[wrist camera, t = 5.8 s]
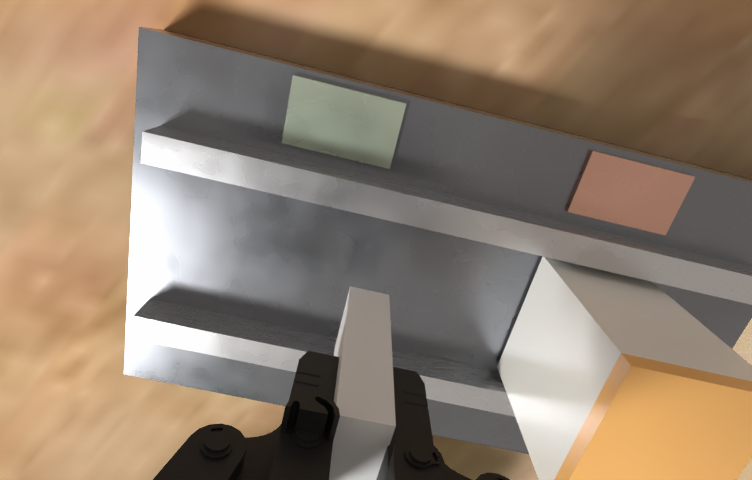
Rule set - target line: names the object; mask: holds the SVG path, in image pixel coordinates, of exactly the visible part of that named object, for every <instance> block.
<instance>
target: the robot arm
mask: <svg viewBox="0 0 752 480" xmlns="http://www.w3.org/2000/svg"><path fill="white" fill-rule="evenodd" d="M153 480H471V479H469V478H467V477H465V476H463V475H461V474H459V473H457V472H455V471H453V470H452V469H450V468H449V467H448V466H447V465H445V463H444V460H443V458H442V455H441V453H440V452H439V451H438V450H437V448H436V447H435V446H434V445H433V438H432V431H431V424H430V417H429V410H428V403H427V398H426V389H425V383H424V382H423V380H422V379H421V377H420V376H419V374H418V373H417V372H416V371H411V370H406V369H401V368H396V367H393V360H392V340H391V320H390V300H389V295H388V294H384V293H379V292H374V291H370V290H365V289H361V288H356V287H351V286H350V288H349V292H348V296H347V300H346V304H345V308H344V312H343V316H342V320H341V324H340V328H339V332H338V336H337V340H336V344H335V349H334V356H332V355H327V354H322V353H317V352H312V351H307V352H306V353H305V354H304V355H303V356H302V357H301V358H300V359H299V362H298V366H297V370H296V374H295V378H294V382H293V386H292V390H291V394H290V397H289V401H288V403H287V404H286V407H285V411H284V416H283V421H282V424H281V425H280V426H279V427H278V428H277V429H276V430H274V431H273V432H271V433H269V434H267V435H264V436H259V437H251V438H245V437H244V436H243V435H242V433H241V432H240V431H239V430H237V429H236V428H234V427H232V426H229V425H225V424H211V425H208V426H205V427H202V428H200V429H198V430H197V431H196V432H194V433H193V434H192V435H191V436H190V437H189V438H188V439H187V441H186V442H185V443H184V444H183V445H182V446H181V448H180V449H179V450H178V451H177V452H176V453H175V455H174V456H173V457H172V458H171V459H170V460H169V462H168V463H167V464H166V465H165V466H164V467H163V469H162V470H161V471H160V472H159V473H158V474H157V476H156V477H155V478H154V479H153ZM476 480H509V479H508V478H506V477H504V476H501V475H499V474H495V473H485V474H481V475H480V476H479V477H478V478H477V479H476Z"/></svg>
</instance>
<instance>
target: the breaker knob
mask: <svg viewBox="0 0 752 480" xmlns="http://www.w3.org/2000/svg"><path fill="white" fill-rule="evenodd" d="M497 368H498V371H499V374H500V376H501V379H502V382H503V385H504V387H505V390H506V393H507V395H508V398H509V401H510V404H511V406H512V409H513V412H514V414H515V417H516V420H517V423H518V425H519V428H520V431H521V433H522V436H523V439H524V442H525V444H526V447H527V450H528V452H529V455H530V458H531V461H532V463H533V466H534V469H535V471H536V474H537V477H538V480H736V479H737V478H738V476H739V475H740V474H741V472H742V471H743V470H744V468H745V467H746V465H747V464H748V463H749V461H750V460H751V459H752V365H750V364H749V363H748V362H747V361H746V360H744V359H743V358H742V357H741V356H740V355H738V354H737V353H736V352H735V351H734V350H733V349H731V348H730V347H729V346H728V345H727V344H725V343H724V342H723V341H722V340H721V339H719V338H718V337H717V336H716V335H715V334H714V333H712V332H711V331H710V330H709V329H708V328H706V327H705V326H704V325H703V324H702V323H700V322H699V321H698V320H697V319H696V318H695V317H693V316H692V315H691V314H690V313H689V312H687V311H686V310H685V309H684V308H683V307H681V306H680V305H679V304H678V303H677V302H676V301H674V300H673V299H672V298H671V297H670V296H668V295H667V294H666V293H665V292H664V291H662V290H661V289H660V288H659V287H658V286H657V285H655V284H654V283H653V282H651V281H647V280H642V279H638V278H634V277H629V276H625V275H621V274H617V273H612V272H608V271H604V270H599V269H595V268H591V267H586V266H582V265H578V264H573V263H569V262H565V261H560V260H556V259H552V258H548V257H542V259H541V262H540V264H539V266H538V269H537V271H536V274H535V276H534V278H533V281H532V283H531V286H530V288H529V291H528V293H527V295H526V298H525V300H524V303H523V305H522V308H521V310H520V312H519V315H518V317H517V320H516V322H515V325H514V327H513V329H512V332H511V334H510V337H509V339H508V342H507V344H506V346H505V349H504V351H503V354H502V356H501V359H500V361H499V363H498V366H497Z"/></svg>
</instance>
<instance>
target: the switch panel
mask: <svg viewBox="0 0 752 480" xmlns="http://www.w3.org/2000/svg"><path fill="white" fill-rule="evenodd" d="M542 257H548V258H552V259H556V260H560V261H565V262H569V263H573V264H578V265H582V266H586V267H591V268H595V269H599V270H604V271H608V272H612V273H617V274H621V275H625V276H629V277H634V278H638V279H642V280H647V281H651V282H653V283H654V284H655V285H657V286H658V287H659V288H660V289H661V290H662V291H664V292H665V293H666V294H667V295H668V296H670V297H671V298H672V299H673V300H674V301H676V302H677V303H678V304H679V305H680V306H681V307H683V308H684V309H685V310H686V311H687V312H689V313H690V314H691V315H692V316H693V317H695V318H696V319H697V320H698V321H699V322H700V323H702V324H703V325H704V326H705V327H706V328H708V329H709V330H710V331H711V332H712V333H714V334H715V335H716V336H717V337H718V338H719V339H721V340H722V341H723V342H724V343H725V344H727V345H728V346H729V347H730V348H731V349H732V348H733V346H734V345H735V343H736V342H737V340H738V338H739V337H740V335H741V334H742V332H743V331H744V329H745V327H746V326H747V324H748V323H749V321H750V319H751V318H752V180H751V179H747V178H743V177H739V176H735V175H731V174H728V173H724V172H720V171H716V170H712V169H708V168H704V167H700V166H696V165H692V164H688V163H684V162H680V161H676V160H673V159H669V158H665V157H661V156H657V155H653V154H649V153H645V152H641V151H637V150H633V149H629V148H625V147H622V146H618V145H614V144H610V143H606V142H602V141H598V140H594V139H590V138H586V137H582V136H578V135H574V134H570V133H567V132H563V131H559V130H555V129H551V128H547V127H543V126H539V125H535V124H531V123H527V122H523V121H519V120H516V119H512V118H508V117H504V116H500V115H496V114H492V113H488V112H484V111H480V110H476V109H472V108H468V107H464V106H461V105H457V104H453V103H449V102H445V101H441V100H437V99H433V98H429V97H425V96H421V95H417V94H413V93H410V92H406V91H402V90H398V89H394V88H390V87H386V86H382V85H378V84H374V83H370V82H366V81H362V80H358V79H355V78H351V77H347V76H343V75H339V74H335V73H331V72H327V71H323V70H319V69H315V68H311V67H307V66H304V65H300V64H296V63H292V62H288V61H284V60H280V59H276V58H272V57H268V56H264V55H260V54H256V53H253V52H249V51H245V50H241V49H237V48H233V47H229V46H225V45H221V44H217V43H213V42H209V41H205V40H201V39H198V38H194V37H190V36H186V35H182V34H178V33H174V32H170V31H166V30H161V29H152V28H143V27H139V38H138V61H137V84H136V107H135V130H134V152H133V175H132V198H131V221H130V244H129V267H128V289H127V312H126V335H125V358H124V374H125V375H130V376H135V377H140V378H146V379H151V380H156V381H161V382H166V383H171V384H176V385H181V386H186V387H191V388H196V389H201V390H207V391H212V392H217V393H222V394H227V395H232V396H237V397H242V398H247V399H252V400H257V401H262V402H268V403H273V404H278V405H283V406H286V404H287V403H288V401H289V397H290V394H291V390H292V386H293V382H294V378H295V374H296V370H297V366H298V362H299V359H300V358H301V357H302V356H303V355H304V354H305V353H306V352H307V351H312V352H317V353H322V354H327V355H332V356H334V349H335V344H336V340H337V336H338V332H339V328H340V324H341V320H342V316H343V312H344V308H345V304H346V300H347V296H348V292H349V288H350V286H351V287H356V288H361V289H365V290H370V291H374V292H379V293H384V294H388V295H389V300H390V320H391V340H392V360H393V367H396V368H401V369H406V370H411V371H416V372H417V373H418V374H419V376H420V377H421V379H422V380H423V382H424V383H425V389H426V398H427V403H428V410H429V417H430V424H431V431H432V435H435V436H440V437H445V438H450V439H456V440H461V441H466V442H471V443H476V444H481V445H486V446H491V447H496V448H501V449H506V450H511V451H517V452H522V453H527V454H529V452H528V450H527V447H526V444H525V442H524V439H523V436H522V433H521V431H520V428H519V425H518V423H517V420H516V417H515V414H514V412H513V409H512V406H511V404H510V401H509V398H508V395H507V393H506V390H505V387H504V385H503V382H502V379H501V376H500V374H499V371H498V368H497V366H498V363H499V361H500V359H501V356H502V354H503V351H504V349H505V346H506V344H507V342H508V339H509V337H510V334H511V332H512V329H513V327H514V325H515V322H516V320H517V317H518V315H519V312H520V310H521V308H522V305H523V303H524V300H525V298H526V295H527V293H528V291H529V288H530V286H531V283H532V281H533V278H534V276H535V274H536V271H537V269H538V266H539V264H540V262H541V259H542Z"/></svg>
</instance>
